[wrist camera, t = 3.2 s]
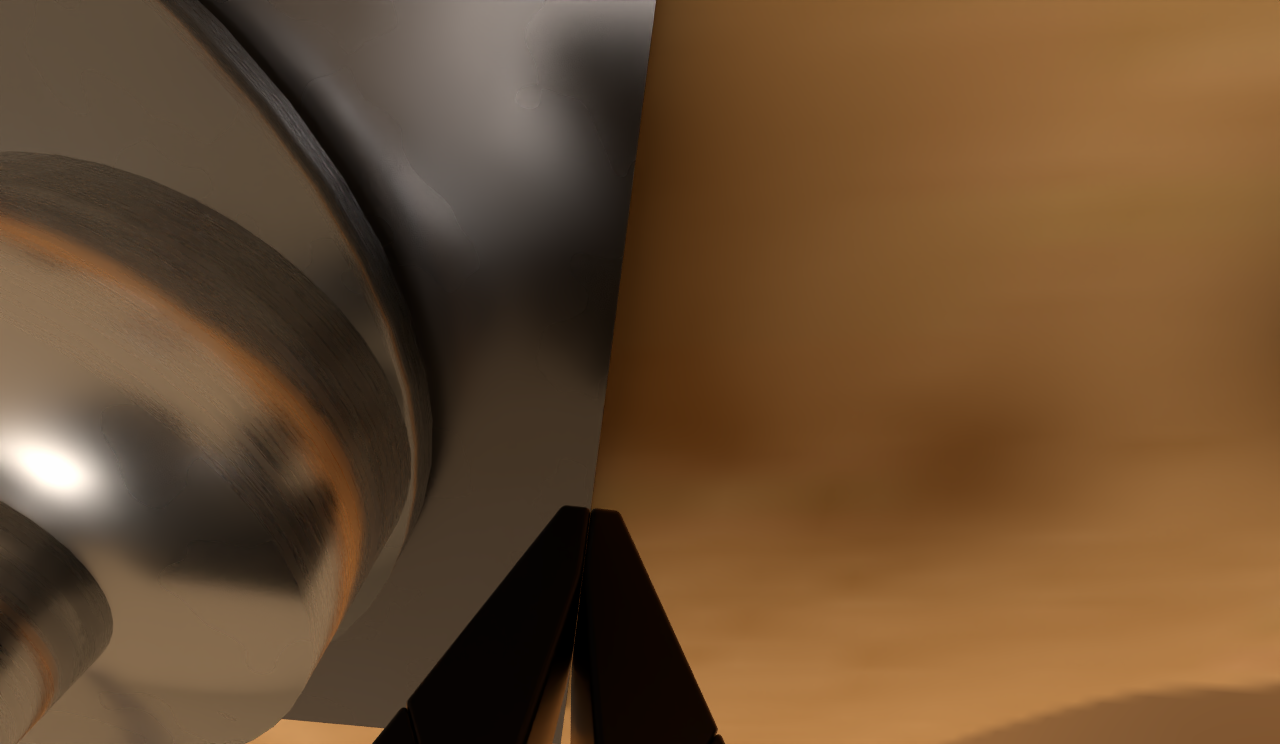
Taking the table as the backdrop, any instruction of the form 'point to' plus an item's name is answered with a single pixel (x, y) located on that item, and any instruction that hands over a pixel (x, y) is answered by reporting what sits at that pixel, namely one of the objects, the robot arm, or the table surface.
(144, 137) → the turntable
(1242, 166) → the table surface
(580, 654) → the robot arm
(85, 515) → the cover
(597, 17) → the base plate
